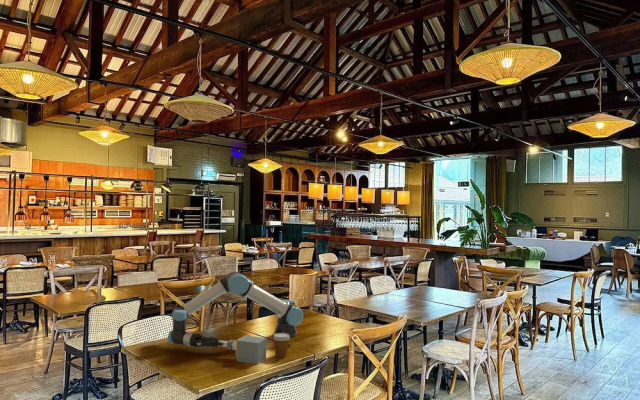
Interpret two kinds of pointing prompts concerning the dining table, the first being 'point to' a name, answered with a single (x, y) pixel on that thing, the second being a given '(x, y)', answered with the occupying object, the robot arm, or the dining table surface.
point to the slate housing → (251, 349)
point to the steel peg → (231, 344)
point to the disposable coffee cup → (281, 344)
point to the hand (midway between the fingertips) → (228, 344)
